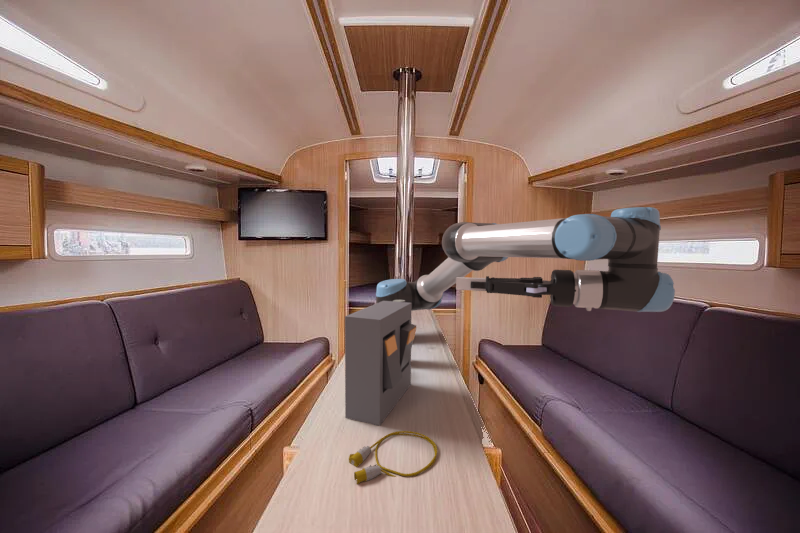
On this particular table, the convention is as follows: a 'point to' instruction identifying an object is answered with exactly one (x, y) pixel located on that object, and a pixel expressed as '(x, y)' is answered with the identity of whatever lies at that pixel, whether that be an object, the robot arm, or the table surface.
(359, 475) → the extension cord
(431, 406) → the table surface
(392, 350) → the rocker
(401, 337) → the panel
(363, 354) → the block
